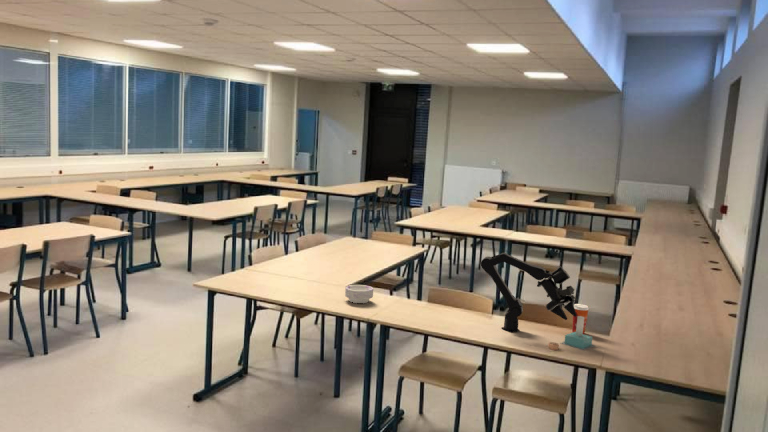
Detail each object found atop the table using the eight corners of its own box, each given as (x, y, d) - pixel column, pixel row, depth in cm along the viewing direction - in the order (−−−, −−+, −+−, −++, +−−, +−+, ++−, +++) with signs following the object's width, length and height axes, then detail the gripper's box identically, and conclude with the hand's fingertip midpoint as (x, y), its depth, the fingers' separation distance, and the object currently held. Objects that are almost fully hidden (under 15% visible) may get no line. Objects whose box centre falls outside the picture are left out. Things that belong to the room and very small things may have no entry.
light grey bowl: (340, 298, 339) (341, 284, 338) (365, 297, 345) (366, 283, 344) (350, 306, 325) (351, 291, 324) (377, 304, 332) (378, 290, 331)
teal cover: (564, 343, 284) (567, 316, 283) (573, 339, 291) (576, 313, 289) (582, 348, 278) (585, 321, 277) (591, 345, 285) (594, 317, 283)
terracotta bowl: (546, 348, 277) (546, 342, 277) (553, 347, 279) (553, 341, 279) (553, 351, 273) (553, 345, 273) (560, 350, 276) (561, 344, 275)
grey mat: (559, 343, 284) (559, 343, 284) (572, 339, 293) (572, 338, 293) (584, 351, 276) (584, 350, 276) (596, 346, 285) (596, 345, 285)
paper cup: (575, 336, 299) (578, 307, 297) (567, 331, 306) (569, 303, 304) (589, 335, 301) (592, 307, 299) (580, 330, 308) (583, 303, 307)
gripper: (554, 282, 281) (574, 311, 275) (573, 278, 295) (593, 305, 289) (537, 296, 288) (556, 324, 282) (556, 290, 301) (575, 318, 295)
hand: (571, 317), depth 287 cm, fingers open, 9 cm apart
